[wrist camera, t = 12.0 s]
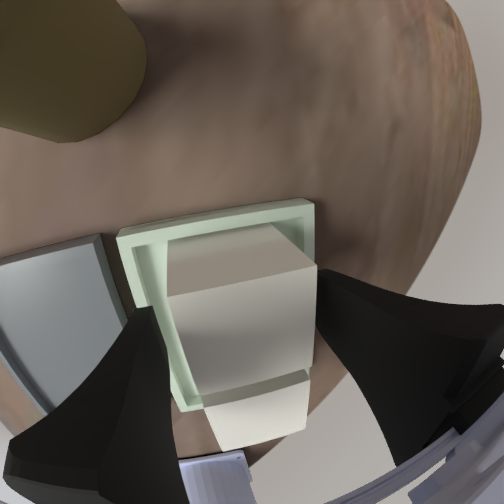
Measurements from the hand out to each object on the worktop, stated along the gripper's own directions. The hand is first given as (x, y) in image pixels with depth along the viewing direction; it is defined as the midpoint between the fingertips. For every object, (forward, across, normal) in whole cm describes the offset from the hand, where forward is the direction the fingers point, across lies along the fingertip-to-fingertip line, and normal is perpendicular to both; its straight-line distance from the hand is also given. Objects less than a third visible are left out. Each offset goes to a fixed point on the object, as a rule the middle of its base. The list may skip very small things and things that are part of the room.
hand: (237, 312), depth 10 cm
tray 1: (+3, +10, +2) cm, 10 cm away
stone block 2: (+3, 0, +5) cm, 5 cm away
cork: (+3, +5, -10) cm, 12 cm away
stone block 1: (+3, 0, 0) cm, 3 cm away
